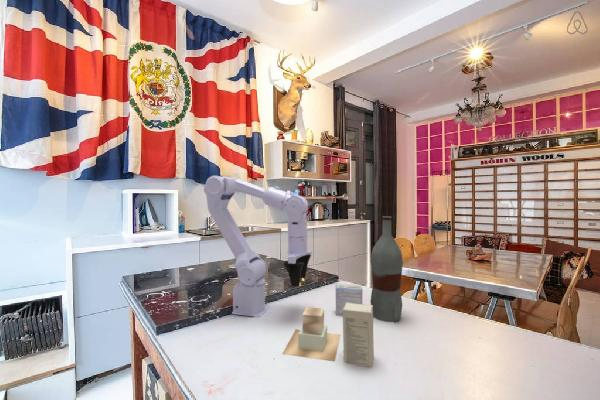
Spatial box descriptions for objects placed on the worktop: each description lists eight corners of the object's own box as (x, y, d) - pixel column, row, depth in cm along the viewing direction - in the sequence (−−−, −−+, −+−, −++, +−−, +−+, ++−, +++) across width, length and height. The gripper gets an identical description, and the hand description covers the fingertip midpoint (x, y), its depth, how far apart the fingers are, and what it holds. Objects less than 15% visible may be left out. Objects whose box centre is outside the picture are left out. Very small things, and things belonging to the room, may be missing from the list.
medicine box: (360, 311, 90) (361, 284, 90) (362, 318, 86) (362, 289, 86) (335, 310, 91) (335, 283, 91) (335, 316, 87) (335, 288, 86)
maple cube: (302, 333, 69) (302, 314, 69) (306, 324, 73) (306, 306, 73) (321, 335, 68) (321, 316, 68) (324, 326, 72) (324, 308, 72)
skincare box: (374, 358, 65) (374, 304, 65) (372, 369, 61) (372, 312, 61) (345, 353, 68) (345, 301, 67) (342, 363, 63) (342, 308, 63)
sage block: (298, 348, 69) (298, 333, 69) (304, 336, 75) (304, 322, 74) (323, 351, 67) (323, 337, 67) (327, 338, 73) (327, 325, 73)
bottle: (367, 309, 92) (368, 215, 91) (396, 310, 91) (397, 215, 90) (373, 323, 82) (374, 218, 81) (406, 323, 82) (408, 218, 81)
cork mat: (282, 355, 67) (282, 353, 67) (295, 330, 78) (295, 329, 78) (334, 363, 64) (334, 361, 64) (340, 336, 75) (340, 334, 75)
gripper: (305, 240, 78) (306, 290, 79) (315, 233, 93) (316, 275, 93) (280, 240, 80) (281, 289, 81) (294, 232, 94) (295, 274, 95)
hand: (298, 281), depth 87 cm, fingers open, 7 cm apart
